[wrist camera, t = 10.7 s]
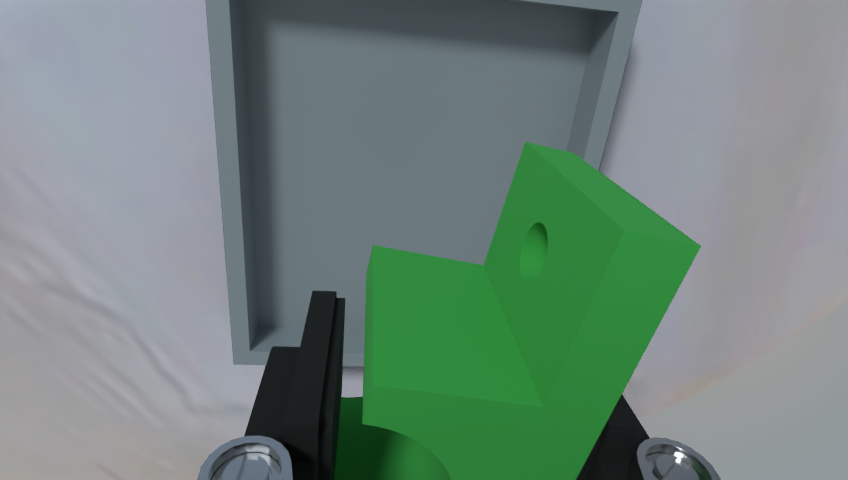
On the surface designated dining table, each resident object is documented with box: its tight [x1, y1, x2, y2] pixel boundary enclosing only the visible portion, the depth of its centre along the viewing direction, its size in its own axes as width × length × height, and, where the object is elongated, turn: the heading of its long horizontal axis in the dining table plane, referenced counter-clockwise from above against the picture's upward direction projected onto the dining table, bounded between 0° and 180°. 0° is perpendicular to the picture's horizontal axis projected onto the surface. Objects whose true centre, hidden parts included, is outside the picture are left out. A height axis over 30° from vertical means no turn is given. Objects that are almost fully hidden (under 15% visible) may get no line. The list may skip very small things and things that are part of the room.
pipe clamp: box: [334, 142, 701, 480], centre depth 10 cm, size 11×4×5 cm, turn 166°
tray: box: [205, 0, 642, 367], centre depth 22 cm, size 16×18×2 cm
